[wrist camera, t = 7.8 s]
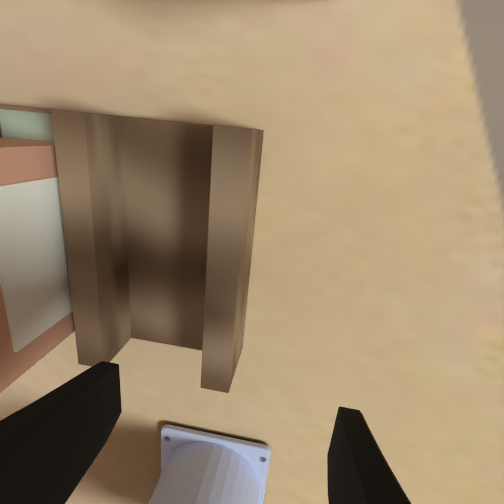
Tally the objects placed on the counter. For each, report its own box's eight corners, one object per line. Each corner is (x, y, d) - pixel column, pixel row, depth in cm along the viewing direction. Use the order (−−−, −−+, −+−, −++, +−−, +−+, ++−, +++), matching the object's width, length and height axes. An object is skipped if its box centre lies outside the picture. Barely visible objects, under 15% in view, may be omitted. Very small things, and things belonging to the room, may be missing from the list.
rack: (242, 347, 21) (228, 393, 17) (-66, 293, 24) (-136, 322, 20) (263, 130, 17) (250, 128, 13) (-119, 93, 19) (-223, 82, 15)
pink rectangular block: (83, 144, 17) (-55, 149, 11) (98, 313, 20) (0, 395, 14) (9, 137, 18) (-167, 138, 11) (35, 302, 21) (-87, 377, 14)
